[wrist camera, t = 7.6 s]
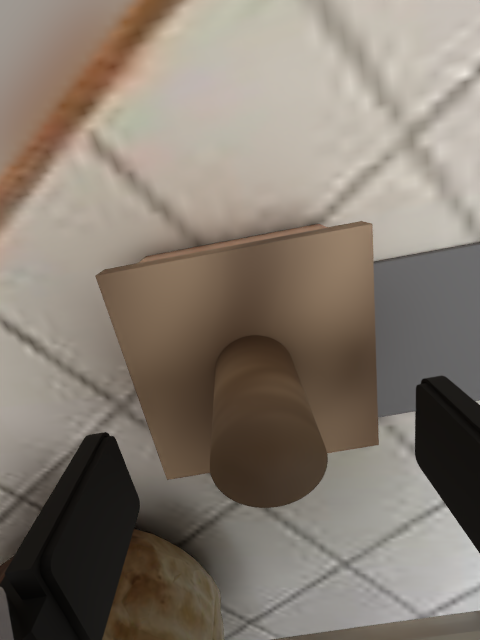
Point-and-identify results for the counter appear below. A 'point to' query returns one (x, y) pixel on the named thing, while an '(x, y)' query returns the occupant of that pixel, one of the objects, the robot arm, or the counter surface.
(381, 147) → the counter surface
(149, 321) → the lid
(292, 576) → the counter surface
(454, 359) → the mat
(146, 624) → the ceramic vessel
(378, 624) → the robot arm
